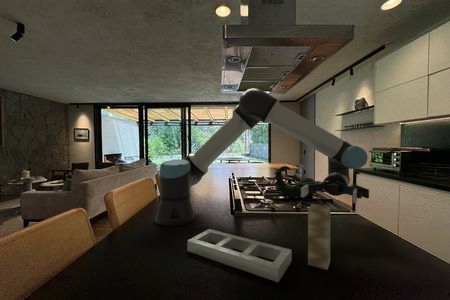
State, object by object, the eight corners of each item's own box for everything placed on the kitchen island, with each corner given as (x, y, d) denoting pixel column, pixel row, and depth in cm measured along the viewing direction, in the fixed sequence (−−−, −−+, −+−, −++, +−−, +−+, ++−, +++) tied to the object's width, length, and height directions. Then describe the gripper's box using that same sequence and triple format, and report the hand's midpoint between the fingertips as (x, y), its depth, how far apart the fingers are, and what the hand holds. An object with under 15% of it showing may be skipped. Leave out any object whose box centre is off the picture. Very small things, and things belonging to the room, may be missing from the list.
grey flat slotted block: (187, 251, 61) (187, 240, 61) (209, 238, 70) (209, 228, 69) (278, 282, 47) (278, 268, 47) (291, 261, 55) (291, 249, 55)
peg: (307, 264, 54) (308, 208, 54) (311, 256, 58) (311, 204, 57) (327, 270, 52) (327, 210, 51) (330, 261, 55) (330, 206, 55)
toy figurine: (279, 203, 117) (326, 199, 118) (276, 167, 117) (323, 163, 117) (275, 199, 127) (318, 195, 127) (272, 166, 126) (315, 161, 127)
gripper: (377, 197, 74) (380, 215, 56) (300, 190, 87) (283, 202, 69) (376, 175, 74) (380, 185, 56) (300, 171, 87) (283, 179, 69)
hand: (326, 195), depth 62 cm, fingers open, 13 cm apart
